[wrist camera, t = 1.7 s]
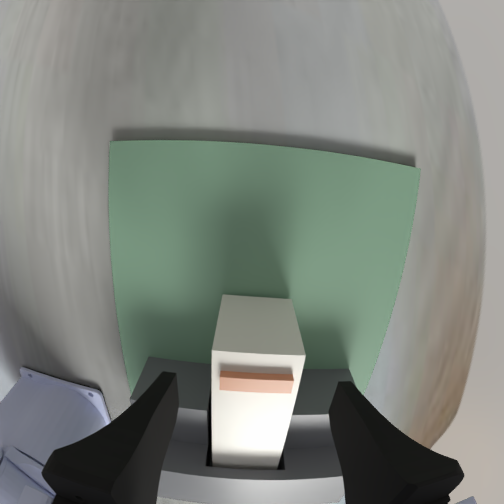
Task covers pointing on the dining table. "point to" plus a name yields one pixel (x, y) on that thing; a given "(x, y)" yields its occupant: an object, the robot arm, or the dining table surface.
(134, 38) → the dining table surface
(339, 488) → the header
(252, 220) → the board
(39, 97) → the dining table surface
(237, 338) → the white box
